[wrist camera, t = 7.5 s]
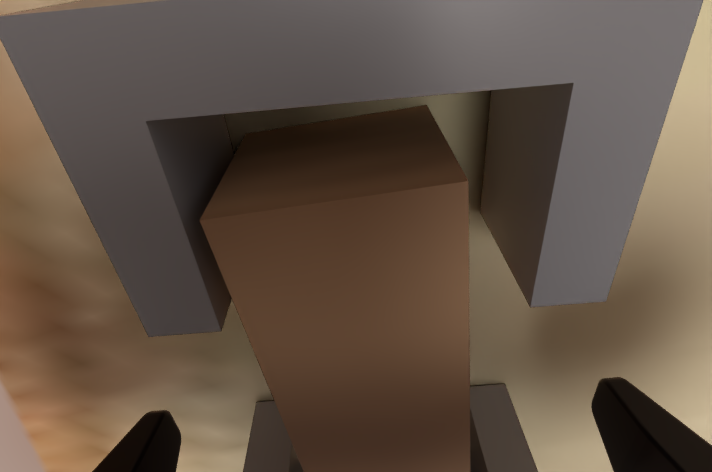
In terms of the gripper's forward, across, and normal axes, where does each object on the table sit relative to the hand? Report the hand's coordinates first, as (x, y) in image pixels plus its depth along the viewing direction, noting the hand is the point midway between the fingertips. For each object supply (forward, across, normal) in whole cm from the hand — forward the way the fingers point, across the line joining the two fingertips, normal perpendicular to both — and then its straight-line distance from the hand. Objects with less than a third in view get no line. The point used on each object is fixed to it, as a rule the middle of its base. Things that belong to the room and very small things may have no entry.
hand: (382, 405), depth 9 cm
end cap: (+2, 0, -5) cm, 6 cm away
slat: (+3, 0, 0) cm, 3 cm away
